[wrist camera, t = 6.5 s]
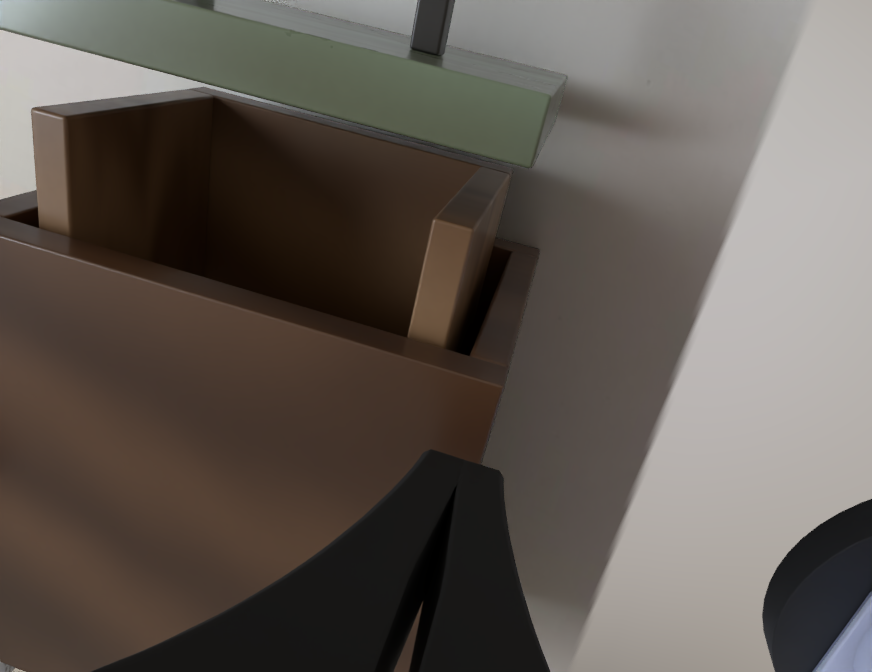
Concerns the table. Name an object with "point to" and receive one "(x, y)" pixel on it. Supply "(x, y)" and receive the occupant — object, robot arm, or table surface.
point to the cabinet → (200, 436)
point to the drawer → (292, 153)
